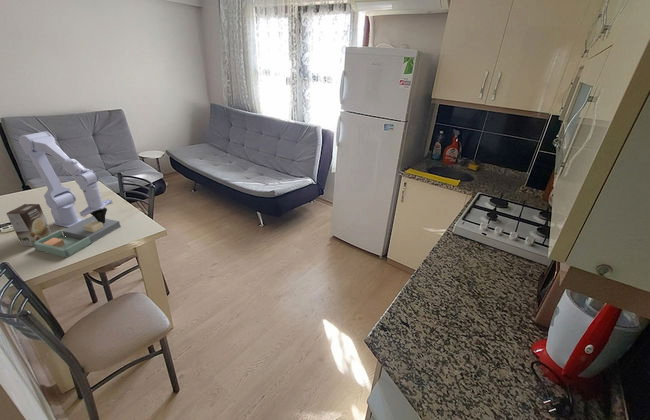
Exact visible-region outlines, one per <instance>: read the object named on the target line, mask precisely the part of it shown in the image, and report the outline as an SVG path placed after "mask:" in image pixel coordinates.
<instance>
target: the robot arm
mask: <svg viewBox="0 0 650 420" xmlns="http://www.w3.org/2000/svg"><path fill="white" fill-rule="evenodd" d="M17 142H18V143H19V145H20V147H21V149H22V150H23V152H24V153H25V155H26V156H27V155H28V156H29V159H30V160H31V161H32V164H33V165H34V167H35V168H36V171H37V172H38V174H39V177H41V179H42V180H43V182H44V185H45V187H46V188H47V190H46V192H45V193H44V195H43V197H44V199H45V203H46V205H47V207H48V208H50V214H51V215H52V217H53V221H54V223H53V225H56V226H61V227H65V228H68V227H70V226H73V225H75V224H77V223H79V222H81V221H83V220H85V219H84V218H85V217H87V216H88V215H91V216H94V217H95V218H96V219H97V221H98V222H102V224H104V223H105V218H106V215H107V211H108V209H107V208H106V206H108V205H112V204H113V203H114V202H113V200H112V199H106V200H103V198H102V195H101V192H100V189H99V188H100V187H99V185H98V182H99V180H100V179H99V176H98V174H97V173H96V172H95V170H92V169H89V168H86V167H85V166H84V165H82V164H81V163H80V162H79V161H78V160H77V159H75V158H70V157H69V156H68V155H67V154H66V152H64V151H63V149H61V148H60V146H59V145H57V142H56V139H55V137H54V136H53V135H52V134H51V133H50V132H49V131H46V130H45V131H44V130H43V131H41V132H40V131H39V132H36V133H35V132H34V133H29V134H25V135H23V134H21V135H20V136H19V138H18V141H17ZM46 153H47V154H49V155H50V156H51V157H53V158H54V159H56V160H57V161H59V163H61V165H62V166H61V167H62V168H63V170H65V171H66V172H68V173H69V174H70V175H71V176H72V177H73V178H74V179H75V180H74V181H75V183H76V184H77V185H78V186H79V189H80V190H81V191H82V193H83V195H84V198H85V201H86V204H87V207H86V208H84V209H83V210H82V211H79V215H80V217H79V215H78V213H77V210H76V208H75V207H76V206H75V203H76V201H77V196H76V194H75V193H74V192H73V191H72V190H71V189H70V187H67V186H63V184H62V183H61V180H60V179H59V177H58V175H57V174H56V172H55V170H54V169H53V166H52V165H51V163H50V161H49V159H48V157H47V155H46ZM81 217H84V218H81Z"/></svg>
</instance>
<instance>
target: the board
mask: <svg viewBox="0 0 650 420" xmlns="http://www.w3.org/2000/svg"><path fill="white" fill-rule="evenodd" d="M92 221H97V219H96V218H95V217H94V216H93V215H91V216H90V217H87V218H85V219H84V220H83V221H81V222H79V223H77V224H75V225H73V226H70V227H65V229H62V230H61V231H62V234H63V236H66V237H70V238H74V239H78V240H82V239H84V238H86V237H90V240H91V242H92V244H93V243H94V242H96V241H98V240H99V239H101V238H103V237H105V236H107V235H108V234H110V233H112V232H113V231H116V230H117V229H119V228H121V224H120V223H121V222H120V221H119V220H115V219H109V218H106V217H105V223H104V224H103V228H101V229H99V230H97V231H95V232H90V231H85V229H84V227H83V226H84V225H86V224H88V223H90V222H92ZM97 222H98V221H97Z"/></svg>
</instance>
